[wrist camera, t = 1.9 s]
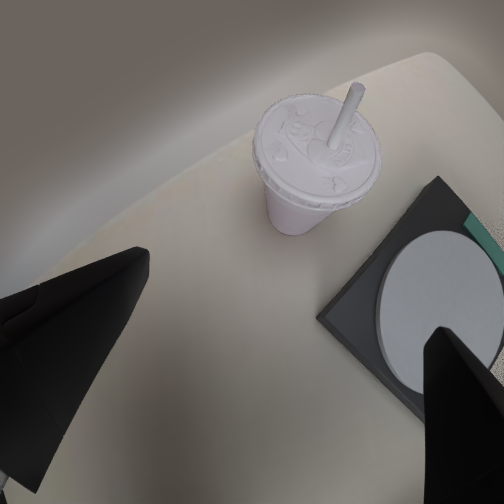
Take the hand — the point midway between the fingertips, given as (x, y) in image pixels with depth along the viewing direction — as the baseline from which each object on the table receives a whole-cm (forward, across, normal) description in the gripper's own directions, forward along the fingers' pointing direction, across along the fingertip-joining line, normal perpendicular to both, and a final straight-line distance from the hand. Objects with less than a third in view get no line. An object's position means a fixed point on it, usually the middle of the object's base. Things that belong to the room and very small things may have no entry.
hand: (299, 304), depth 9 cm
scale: (+12, -13, +7) cm, 19 cm away
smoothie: (+15, 0, +4) cm, 16 cm away
